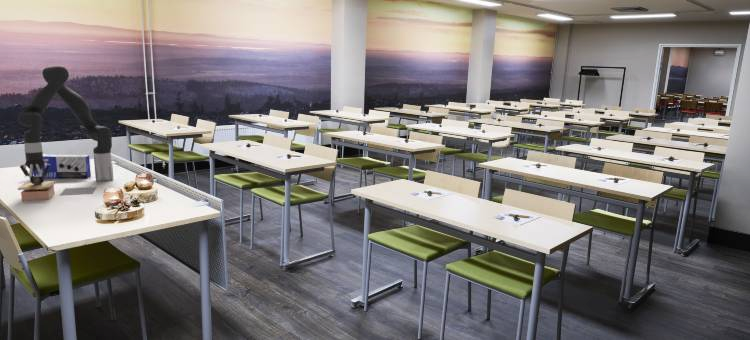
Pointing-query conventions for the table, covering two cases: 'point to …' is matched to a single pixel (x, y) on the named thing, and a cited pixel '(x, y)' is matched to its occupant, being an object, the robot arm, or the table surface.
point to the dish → (37, 194)
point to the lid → (37, 184)
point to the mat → (78, 191)
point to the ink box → (66, 167)
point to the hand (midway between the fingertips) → (37, 183)
